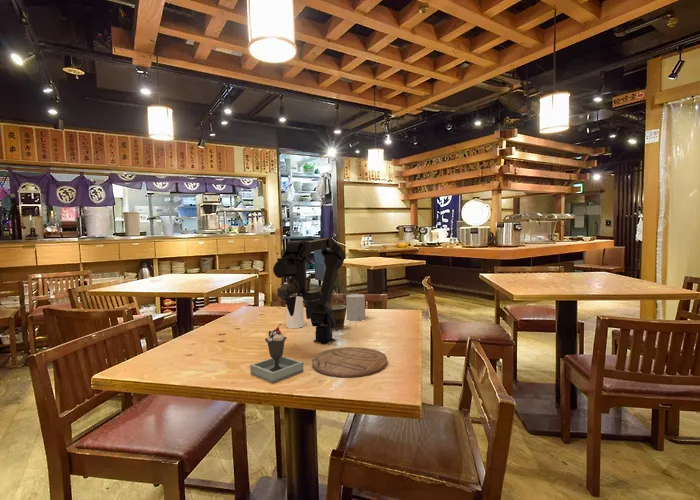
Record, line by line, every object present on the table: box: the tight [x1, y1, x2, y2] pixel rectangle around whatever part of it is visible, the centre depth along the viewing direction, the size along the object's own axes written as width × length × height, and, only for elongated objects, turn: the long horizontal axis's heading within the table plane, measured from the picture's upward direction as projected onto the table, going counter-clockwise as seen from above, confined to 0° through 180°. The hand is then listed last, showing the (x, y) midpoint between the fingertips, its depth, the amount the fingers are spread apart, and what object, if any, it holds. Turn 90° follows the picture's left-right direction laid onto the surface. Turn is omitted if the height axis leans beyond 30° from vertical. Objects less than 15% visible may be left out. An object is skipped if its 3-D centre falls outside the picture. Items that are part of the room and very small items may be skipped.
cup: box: [285, 293, 305, 329], centre depth 172 cm, size 8×8×16 cm
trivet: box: [311, 346, 388, 379], centre depth 121 cm, size 25×25×2 cm
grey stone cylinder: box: [345, 293, 366, 322], centre depth 182 cm, size 10×10×12 cm
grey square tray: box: [250, 355, 304, 384], centre depth 114 cm, size 12×12×3 cm
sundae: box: [264, 323, 288, 372], centre depth 113 cm, size 7×7×15 cm
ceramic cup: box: [330, 304, 347, 331], centre depth 165 cm, size 13×10×10 cm
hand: (299, 317), depth 133 cm, fingers open, 9 cm apart
